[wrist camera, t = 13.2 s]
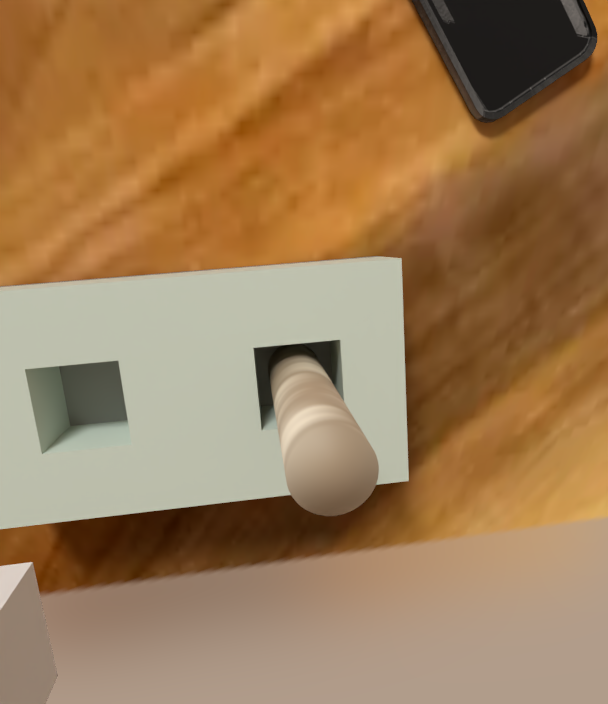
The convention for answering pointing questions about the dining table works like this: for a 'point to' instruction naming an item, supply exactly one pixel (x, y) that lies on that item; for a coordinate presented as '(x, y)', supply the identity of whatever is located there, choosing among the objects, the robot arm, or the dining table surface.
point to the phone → (507, 47)
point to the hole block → (185, 383)
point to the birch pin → (318, 436)
